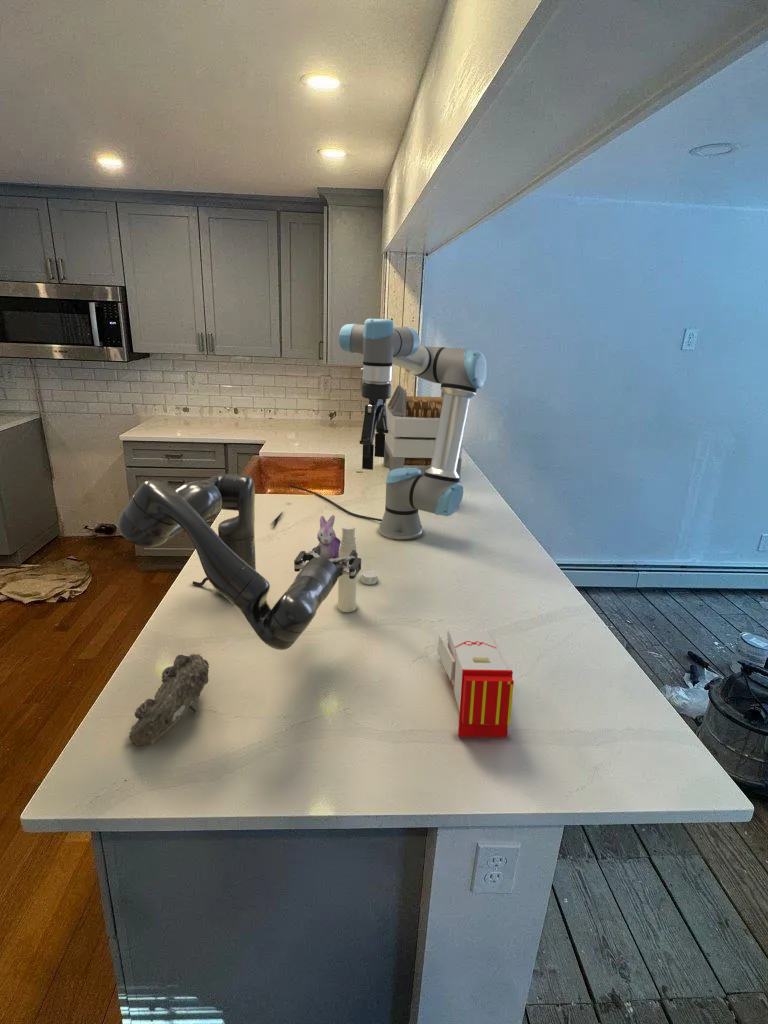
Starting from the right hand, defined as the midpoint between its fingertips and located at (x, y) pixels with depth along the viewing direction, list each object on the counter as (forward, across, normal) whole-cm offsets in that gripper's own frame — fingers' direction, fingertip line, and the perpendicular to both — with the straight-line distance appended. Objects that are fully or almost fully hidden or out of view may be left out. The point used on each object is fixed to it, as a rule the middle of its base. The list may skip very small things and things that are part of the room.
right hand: (373, 462), depth 152 cm
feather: (+36, -42, -45) cm, 71 cm away
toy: (+36, +43, +32) cm, 64 cm away
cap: (+33, 0, 0) cm, 33 cm away
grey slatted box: (+36, -119, -4) cm, 124 cm away
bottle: (+36, +17, -2) cm, 39 cm away
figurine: (+36, -9, -15) cm, 39 cm away
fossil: (+36, +64, -22) cm, 77 cm away
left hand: (+15, +27, -2) cm, 31 cm away
